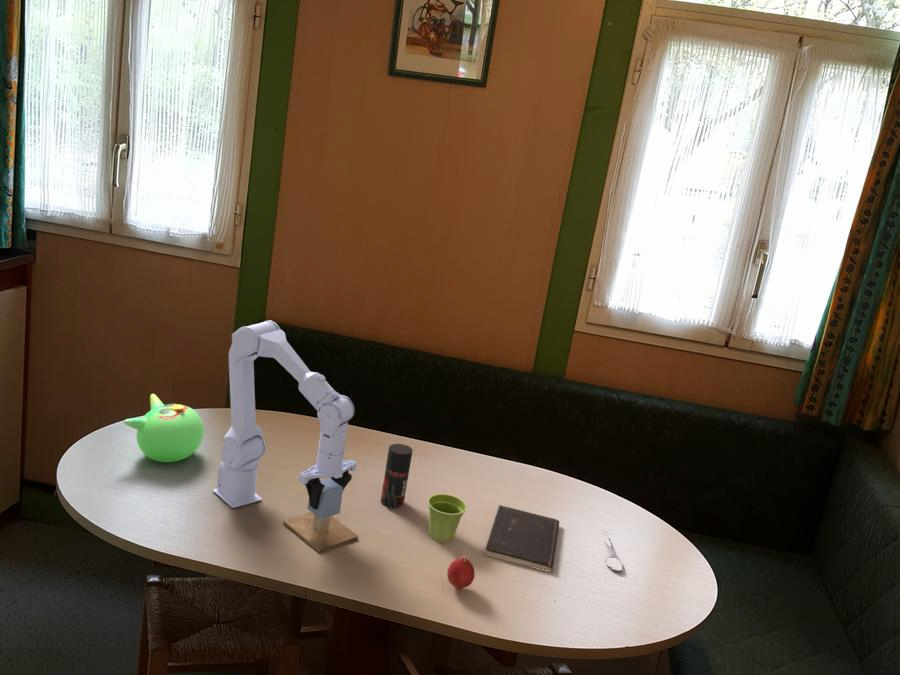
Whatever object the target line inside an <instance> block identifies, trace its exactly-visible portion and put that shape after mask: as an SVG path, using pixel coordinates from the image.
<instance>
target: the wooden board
mask: <svg viewBox="0 0 900 675" xmlns="http://www.w3.org/2000/svg"><path fill="white" fill-rule="evenodd" d="M282 524H283V525H284V526H285V527H286V528H288V529H289V530H290V531H291V532H292V533H294V534H295V535H296V536H297V537H298V538H300V539H301V540H302V541H303V542H305V543H306V544H307V545H309V546H310V547H311V548H312V549H313V550H314V551H316V552H317V553H318V554H321V553H323V552H325V551H328V550H332V549H334V548H337V547H341V546H343V545H346V544H348V543H349V544H350V543H351V542H354V541H356V540H359V536H358V534H356V533H355V532H353V531H352V530H351V529H349V528H348V527H347V526H346V525H344V524H343V523H342V522H340V521H339V520H338V519H336V518H335V517H333V516H330V517H327V518H324V519H320V518H319V517H318V516H316V515H315V514H314V513H312V512H311V511H309V512H308V513H304V514H300V515H297V516H294V517H290V518H287V519H284V520H282Z"/></svg>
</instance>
